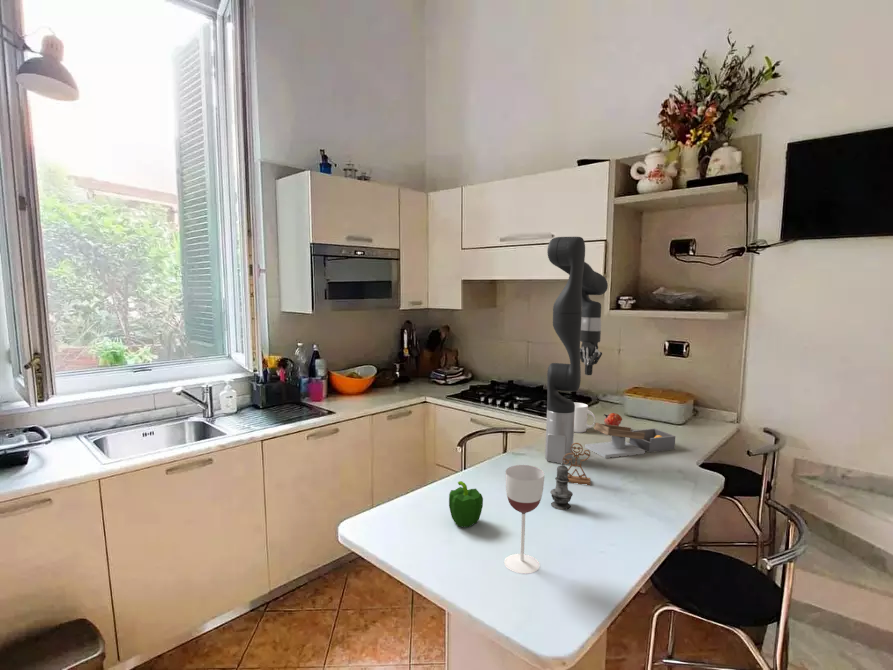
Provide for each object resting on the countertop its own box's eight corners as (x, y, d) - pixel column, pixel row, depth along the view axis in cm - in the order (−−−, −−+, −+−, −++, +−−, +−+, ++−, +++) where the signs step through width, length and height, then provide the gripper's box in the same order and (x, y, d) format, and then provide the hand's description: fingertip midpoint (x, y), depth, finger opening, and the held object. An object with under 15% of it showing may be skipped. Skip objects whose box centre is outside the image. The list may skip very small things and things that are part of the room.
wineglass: (498, 570, 101) (501, 476, 99) (508, 549, 109) (511, 462, 107) (536, 578, 98) (540, 483, 96) (544, 556, 106) (547, 468, 105)
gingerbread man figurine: (559, 481, 148) (561, 443, 147) (560, 477, 152) (562, 439, 151) (590, 485, 146) (592, 446, 145) (590, 480, 150) (592, 442, 149)
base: (644, 453, 175) (645, 438, 175) (605, 458, 170) (606, 442, 169) (622, 443, 187) (623, 429, 186) (584, 447, 181) (585, 433, 181)
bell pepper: (487, 528, 119) (488, 489, 118) (454, 532, 116) (455, 492, 115) (475, 513, 127) (476, 476, 126) (444, 517, 124) (445, 479, 123)
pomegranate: (618, 432, 208) (600, 416, 211) (630, 421, 205) (611, 405, 208) (616, 439, 202) (596, 422, 204) (628, 427, 199) (608, 411, 201)
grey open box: (674, 449, 181) (675, 436, 180) (649, 452, 177) (650, 438, 176) (653, 440, 191) (654, 428, 190) (629, 443, 187) (630, 430, 186)
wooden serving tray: (643, 439, 177) (645, 432, 177) (607, 435, 172) (609, 428, 172) (616, 428, 191) (618, 421, 191) (582, 423, 186) (584, 417, 186)
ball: (660, 440, 182) (667, 442, 183) (657, 432, 184) (664, 434, 185) (653, 444, 184) (660, 447, 185) (650, 436, 186) (657, 439, 187)
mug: (591, 435, 196) (592, 409, 195) (562, 430, 202) (563, 405, 201) (597, 430, 203) (598, 405, 202) (569, 425, 210) (570, 401, 209)
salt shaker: (568, 512, 128) (570, 468, 127) (546, 506, 131) (548, 463, 130) (575, 504, 133) (576, 461, 132) (554, 499, 136) (555, 457, 135)
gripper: (609, 330, 179) (607, 377, 180) (588, 328, 191) (586, 371, 193) (592, 330, 176) (590, 378, 178) (572, 328, 189) (570, 372, 190)
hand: (588, 374), depth 185 cm, fingers closed
